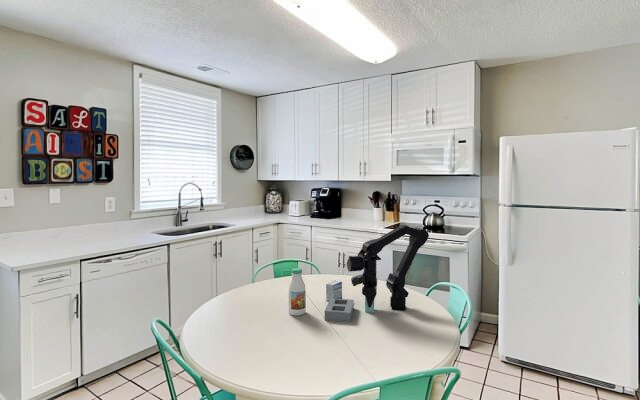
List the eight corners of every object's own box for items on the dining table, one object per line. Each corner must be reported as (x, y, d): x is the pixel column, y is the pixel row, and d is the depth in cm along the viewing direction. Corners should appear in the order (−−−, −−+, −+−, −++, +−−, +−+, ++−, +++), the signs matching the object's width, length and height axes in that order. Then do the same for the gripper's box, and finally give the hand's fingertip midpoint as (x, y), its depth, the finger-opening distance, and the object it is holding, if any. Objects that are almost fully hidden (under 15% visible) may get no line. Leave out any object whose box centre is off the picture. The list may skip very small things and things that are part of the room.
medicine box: (333, 302, 174) (333, 285, 173) (325, 300, 177) (325, 283, 176) (342, 298, 180) (342, 281, 180) (335, 296, 183) (335, 279, 182)
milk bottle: (285, 314, 160) (284, 270, 158) (294, 308, 167) (293, 266, 165) (300, 317, 156) (299, 272, 155) (308, 311, 163) (308, 268, 162)
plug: (374, 309, 165) (374, 289, 165) (374, 312, 161) (374, 292, 161) (365, 308, 166) (365, 289, 165) (365, 312, 162) (365, 292, 161)
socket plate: (353, 308, 167) (353, 299, 167) (350, 321, 151) (350, 312, 151) (330, 306, 169) (330, 298, 169) (324, 320, 153) (324, 311, 153)
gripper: (354, 264, 173) (353, 295, 174) (350, 274, 155) (350, 310, 156) (377, 265, 171) (377, 297, 172) (376, 275, 153) (376, 311, 154)
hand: (369, 303), depth 163 cm, fingers open, 9 cm apart
